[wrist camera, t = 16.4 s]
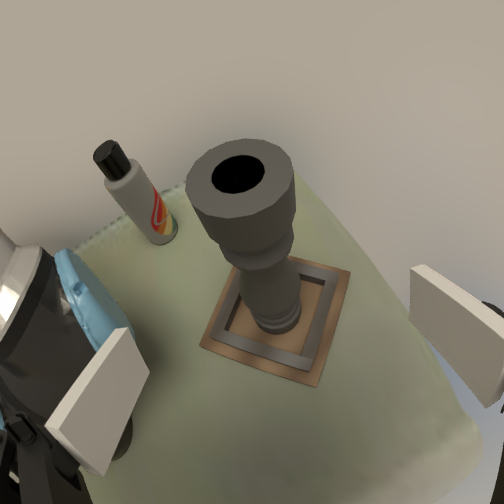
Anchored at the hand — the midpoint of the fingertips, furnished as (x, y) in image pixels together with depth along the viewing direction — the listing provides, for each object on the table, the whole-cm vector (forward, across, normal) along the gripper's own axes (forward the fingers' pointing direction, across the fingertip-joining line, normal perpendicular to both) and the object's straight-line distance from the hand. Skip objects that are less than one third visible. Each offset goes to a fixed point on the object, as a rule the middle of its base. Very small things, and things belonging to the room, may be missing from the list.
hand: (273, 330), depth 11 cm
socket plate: (+23, 0, -12) cm, 26 cm away
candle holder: (+22, 0, -11) cm, 25 cm away
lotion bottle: (+36, -16, +1) cm, 39 cm away
